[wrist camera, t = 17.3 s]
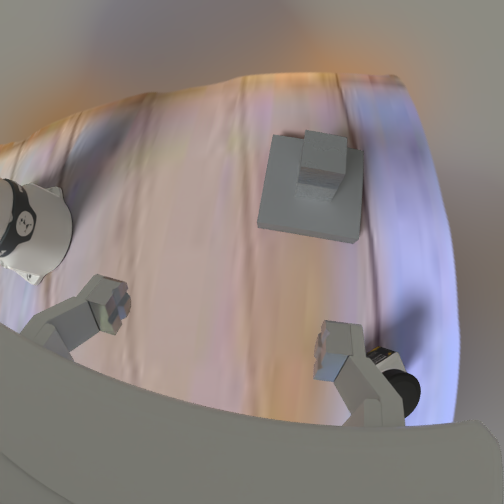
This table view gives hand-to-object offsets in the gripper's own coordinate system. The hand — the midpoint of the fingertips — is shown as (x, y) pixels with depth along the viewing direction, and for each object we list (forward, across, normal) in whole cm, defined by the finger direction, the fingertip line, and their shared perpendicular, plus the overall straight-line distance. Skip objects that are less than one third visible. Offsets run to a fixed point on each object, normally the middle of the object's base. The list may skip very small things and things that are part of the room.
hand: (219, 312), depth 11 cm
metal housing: (+32, -5, +6) cm, 33 cm away
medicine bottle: (+16, -18, +26) cm, 36 cm away
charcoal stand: (+34, -5, +8) cm, 35 cm away
